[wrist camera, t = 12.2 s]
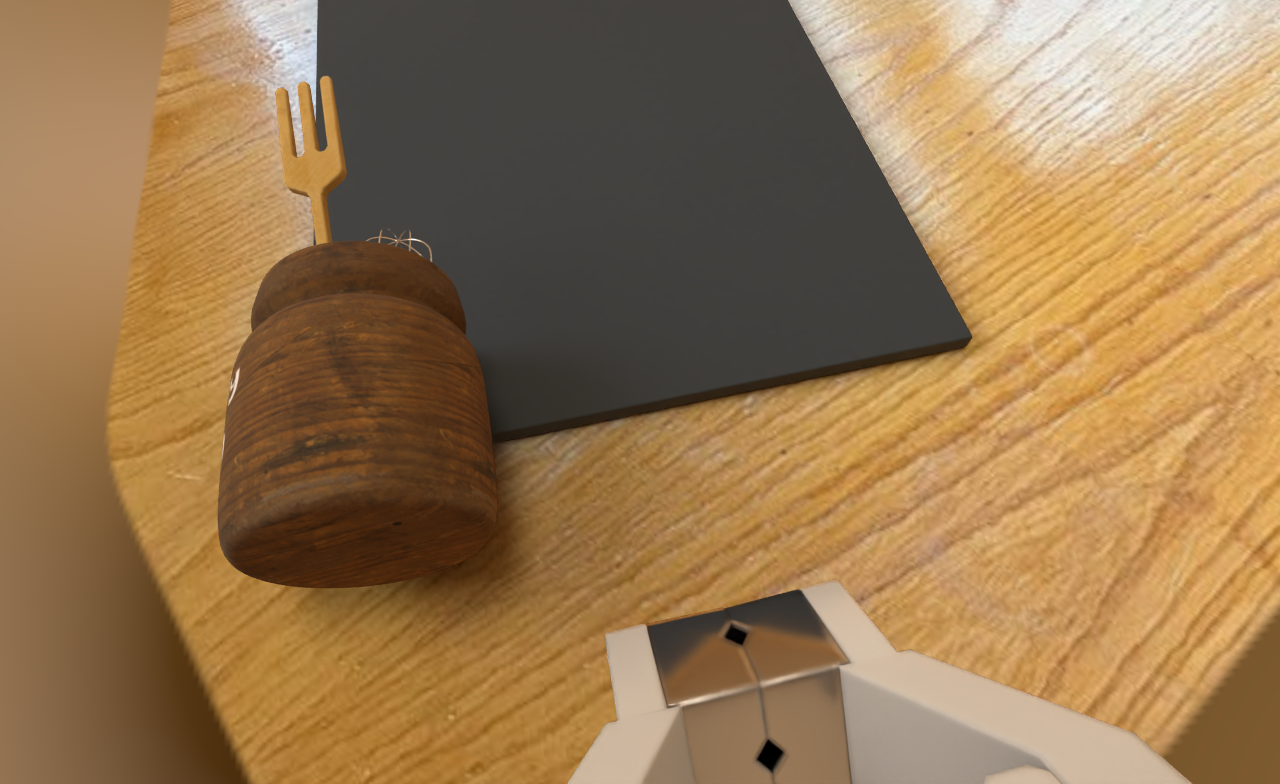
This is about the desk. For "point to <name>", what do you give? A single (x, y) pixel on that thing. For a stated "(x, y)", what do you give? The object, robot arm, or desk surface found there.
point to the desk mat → (626, 198)
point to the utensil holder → (353, 405)
